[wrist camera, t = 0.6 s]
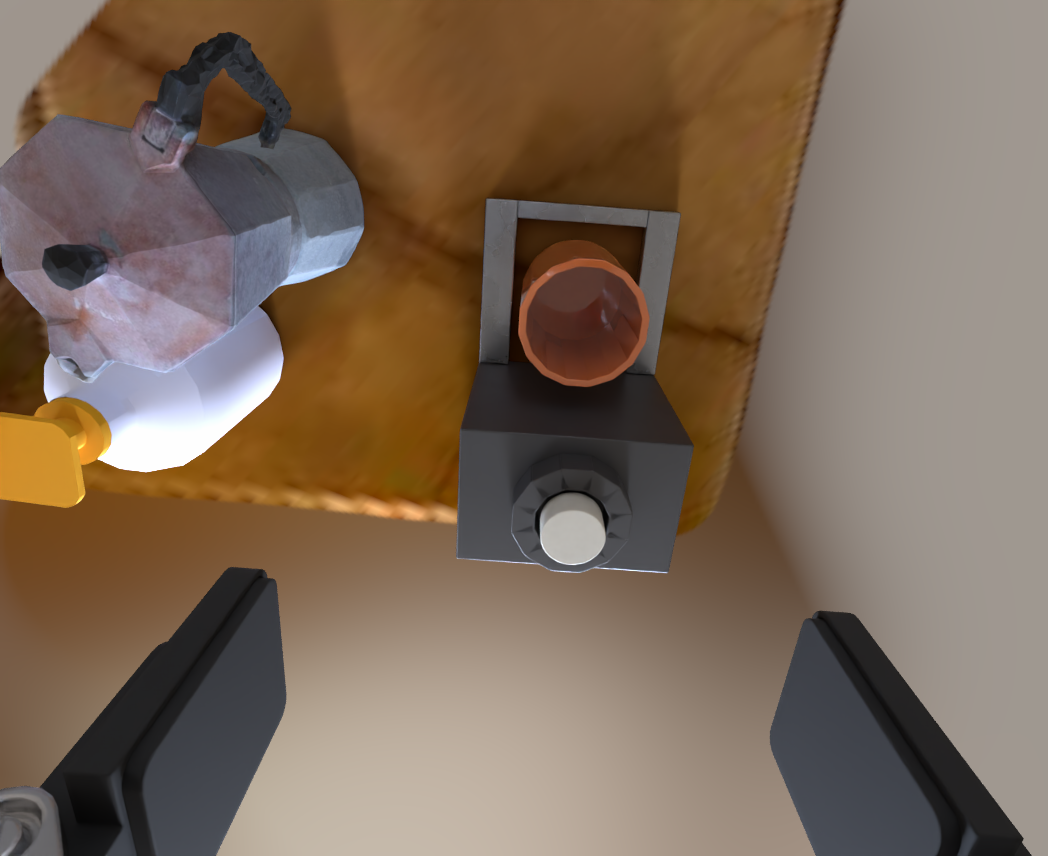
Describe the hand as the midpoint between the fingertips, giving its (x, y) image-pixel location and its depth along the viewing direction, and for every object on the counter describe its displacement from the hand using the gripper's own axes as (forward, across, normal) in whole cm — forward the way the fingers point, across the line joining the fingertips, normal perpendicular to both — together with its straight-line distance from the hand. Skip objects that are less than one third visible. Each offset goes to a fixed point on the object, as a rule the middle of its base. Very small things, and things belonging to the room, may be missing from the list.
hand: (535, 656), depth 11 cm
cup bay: (+32, -2, -2) cm, 32 cm away
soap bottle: (+32, +22, +4) cm, 39 cm away
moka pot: (+32, +16, -6) cm, 36 cm away
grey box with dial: (+32, -2, +8) cm, 33 cm away
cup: (+32, -2, -2) cm, 32 cm away
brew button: (+19, -3, +8) cm, 21 cm away
